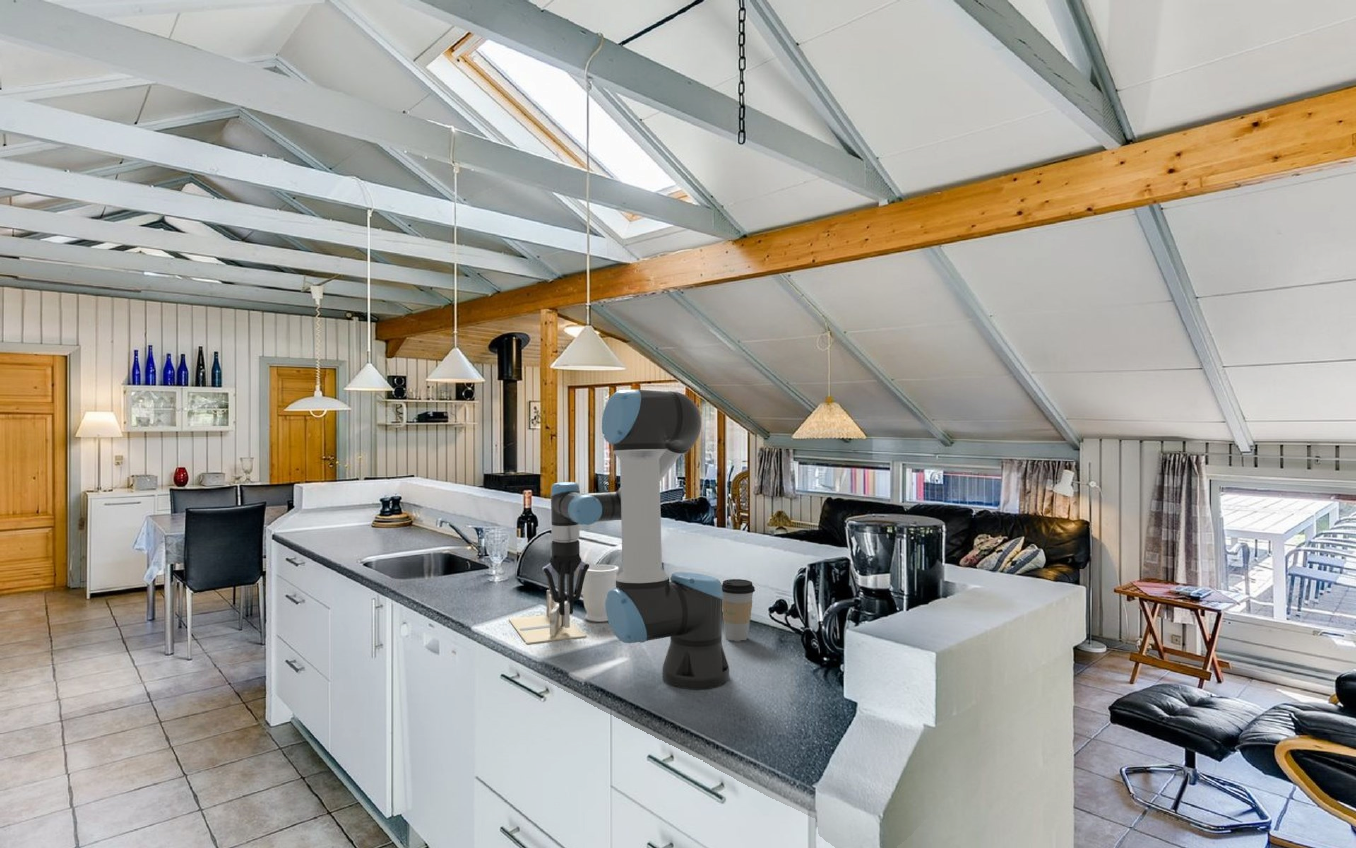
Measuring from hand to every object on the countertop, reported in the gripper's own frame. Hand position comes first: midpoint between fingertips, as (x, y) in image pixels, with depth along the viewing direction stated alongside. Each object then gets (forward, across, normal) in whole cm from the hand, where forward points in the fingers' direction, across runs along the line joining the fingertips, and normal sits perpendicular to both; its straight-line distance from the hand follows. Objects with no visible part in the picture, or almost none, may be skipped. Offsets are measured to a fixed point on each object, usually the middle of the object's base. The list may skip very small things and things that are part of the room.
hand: (566, 626), depth 189 cm
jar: (+3, -13, -11) cm, 18 cm away
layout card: (+2, +4, -7) cm, 8 cm away
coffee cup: (+3, -42, +20) cm, 46 cm away
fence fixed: (+2, 0, -13) cm, 13 cm away
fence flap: (+1, +2, -3) cm, 4 cm away
